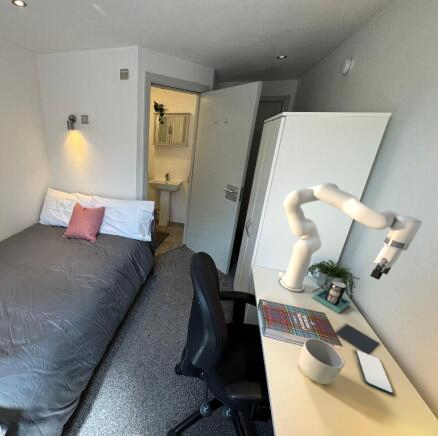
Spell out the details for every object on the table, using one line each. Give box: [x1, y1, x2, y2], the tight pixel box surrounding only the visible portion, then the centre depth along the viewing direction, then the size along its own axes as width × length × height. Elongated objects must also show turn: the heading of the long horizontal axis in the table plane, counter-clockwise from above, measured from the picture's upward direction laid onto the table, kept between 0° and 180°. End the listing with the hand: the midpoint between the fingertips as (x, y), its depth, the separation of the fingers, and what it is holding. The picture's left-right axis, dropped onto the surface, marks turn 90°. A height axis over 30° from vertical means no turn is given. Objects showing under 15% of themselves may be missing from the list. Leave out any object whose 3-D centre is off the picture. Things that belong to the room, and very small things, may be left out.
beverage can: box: [325, 280, 347, 305], centre depth 127 cm, size 7×7×12 cm
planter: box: [298, 337, 346, 385], centre depth 88 cm, size 12×12×11 cm
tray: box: [313, 288, 352, 314], centre depth 129 cm, size 13×13×2 cm
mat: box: [335, 323, 379, 355], centre depth 106 cm, size 12×12×1 cm
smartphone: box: [355, 349, 394, 395], centre depth 91 cm, size 8×1×16 cm
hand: (378, 275), depth 108 cm, fingers open, 9 cm apart
